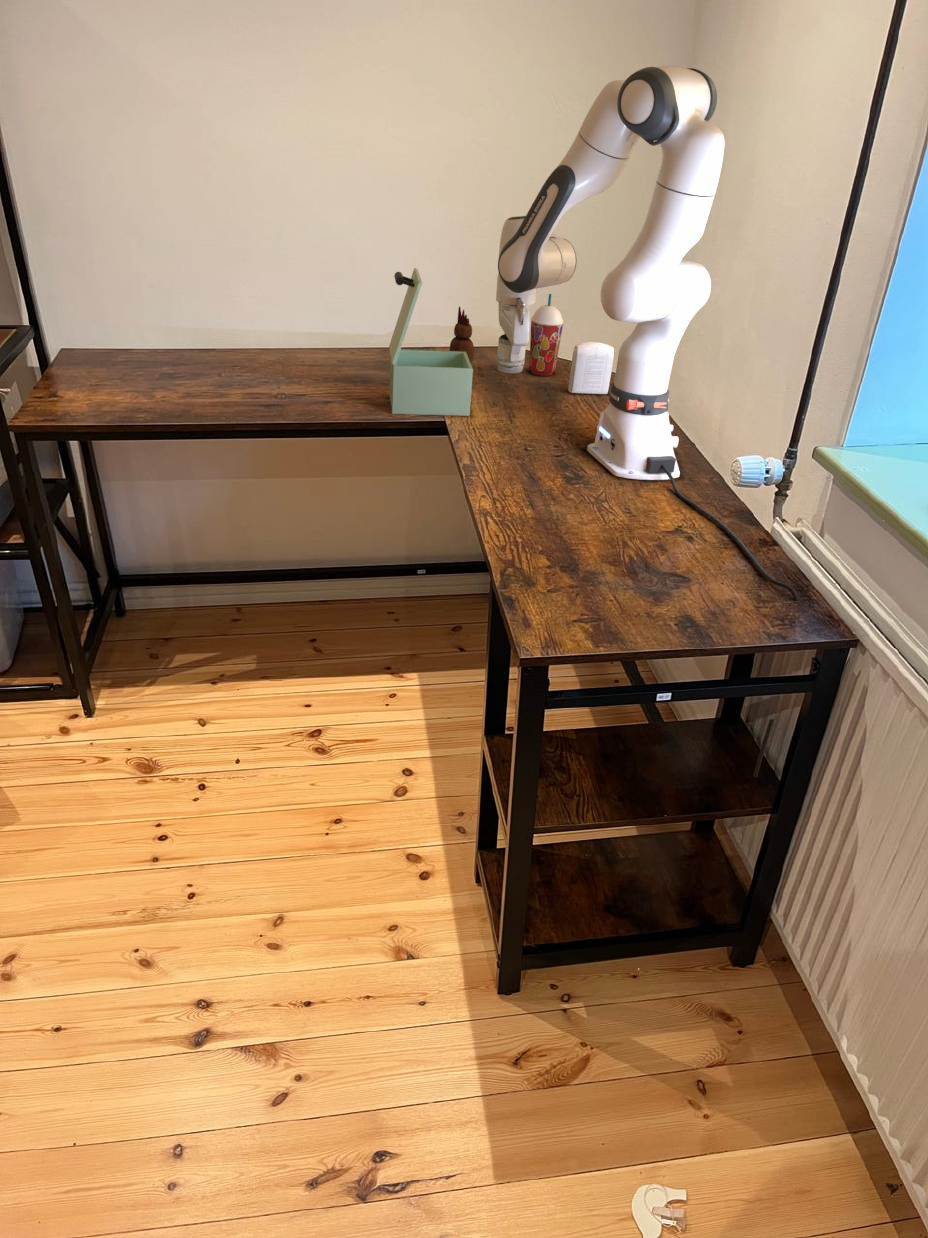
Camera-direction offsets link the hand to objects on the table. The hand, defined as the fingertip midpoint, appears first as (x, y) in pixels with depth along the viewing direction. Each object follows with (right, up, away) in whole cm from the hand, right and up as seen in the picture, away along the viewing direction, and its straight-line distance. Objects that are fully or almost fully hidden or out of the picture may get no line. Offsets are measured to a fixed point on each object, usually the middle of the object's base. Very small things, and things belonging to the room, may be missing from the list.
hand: (511, 356), depth 219 cm
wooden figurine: (-12, +6, +32) cm, 34 cm away
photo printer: (+20, -4, +21) cm, 29 cm away
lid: (-23, +7, -7) cm, 25 cm away
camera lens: (0, -3, +2) cm, 3 cm away
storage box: (-19, -10, +4) cm, 22 cm away
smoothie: (+10, +4, +32) cm, 34 cm away
